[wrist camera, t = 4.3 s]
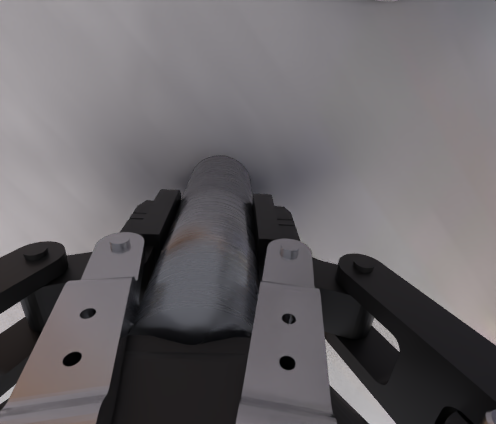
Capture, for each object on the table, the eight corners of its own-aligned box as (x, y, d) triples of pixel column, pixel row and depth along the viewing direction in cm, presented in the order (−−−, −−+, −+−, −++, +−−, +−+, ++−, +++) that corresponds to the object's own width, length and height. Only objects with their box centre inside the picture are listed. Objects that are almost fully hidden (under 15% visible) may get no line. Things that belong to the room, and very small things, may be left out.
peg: (189, 154, 15) (113, 305, 6) (252, 157, 15) (273, 309, 6) (191, 210, 16) (130, 405, 7) (248, 212, 16) (262, 405, 7)
